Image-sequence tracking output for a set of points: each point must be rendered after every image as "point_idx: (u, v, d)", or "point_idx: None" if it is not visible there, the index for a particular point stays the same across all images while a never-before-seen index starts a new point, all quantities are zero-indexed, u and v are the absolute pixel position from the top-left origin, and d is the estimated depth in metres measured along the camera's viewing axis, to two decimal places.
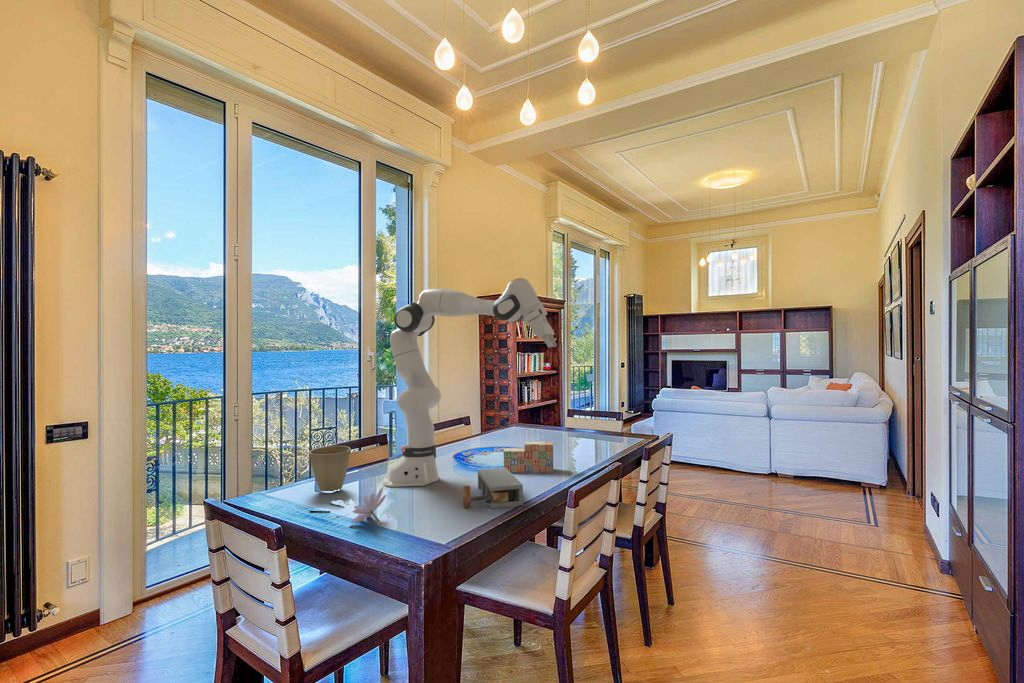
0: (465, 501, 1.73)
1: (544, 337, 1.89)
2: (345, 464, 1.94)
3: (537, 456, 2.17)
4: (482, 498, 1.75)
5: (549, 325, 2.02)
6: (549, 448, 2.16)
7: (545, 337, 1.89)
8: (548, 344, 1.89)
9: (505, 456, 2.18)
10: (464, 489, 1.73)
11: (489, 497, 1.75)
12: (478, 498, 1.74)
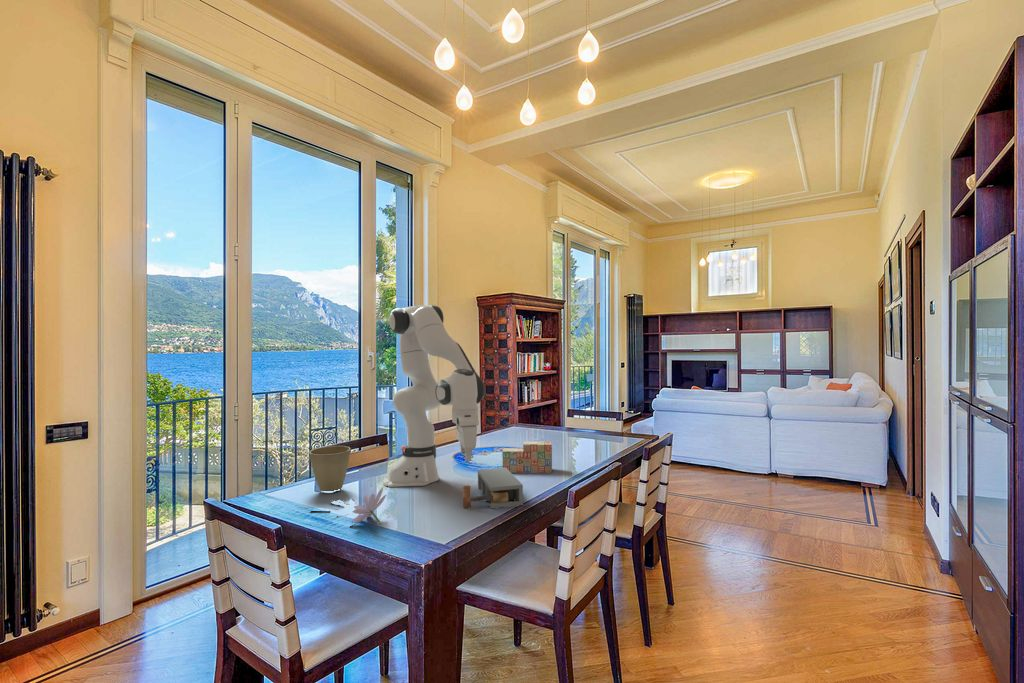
0: (465, 501, 1.73)
1: (468, 449, 1.67)
2: (345, 464, 1.94)
3: (536, 456, 2.17)
4: (482, 498, 1.75)
5: None
6: (547, 448, 2.16)
7: (469, 449, 1.68)
8: (467, 457, 1.68)
9: (504, 456, 2.18)
10: (464, 489, 1.73)
11: (489, 497, 1.75)
12: (478, 498, 1.74)
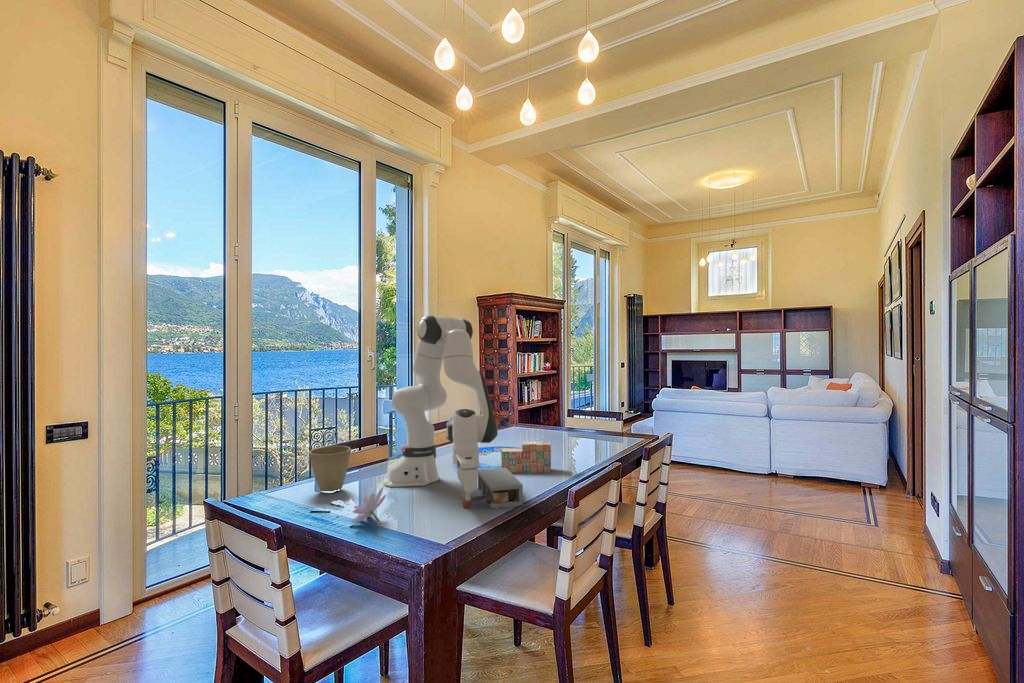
0: (465, 501, 1.73)
1: None
2: (345, 464, 1.94)
3: (535, 456, 2.17)
4: (482, 498, 1.75)
5: None
6: (546, 448, 2.17)
7: None
8: (467, 496, 1.71)
9: (503, 456, 2.18)
10: None
11: (489, 497, 1.75)
12: (478, 498, 1.74)
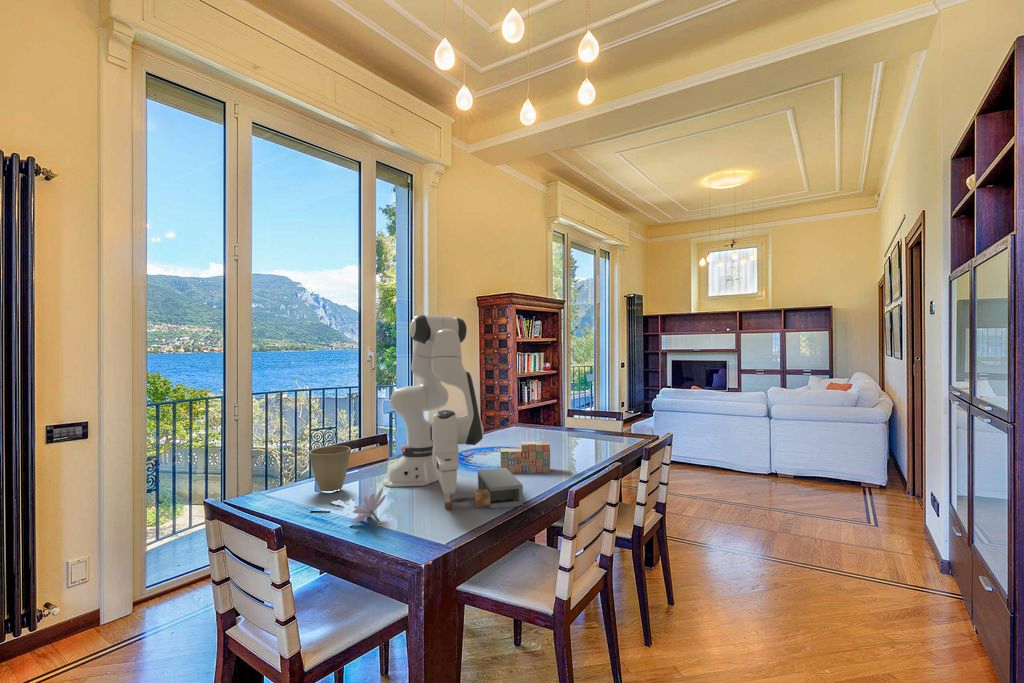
0: (447, 503, 1.71)
1: None
2: (345, 464, 1.94)
3: (534, 456, 2.17)
4: (464, 499, 1.73)
5: None
6: (546, 448, 2.17)
7: None
8: (446, 498, 1.70)
9: (502, 456, 2.18)
10: None
11: (471, 498, 1.74)
12: (460, 499, 1.73)
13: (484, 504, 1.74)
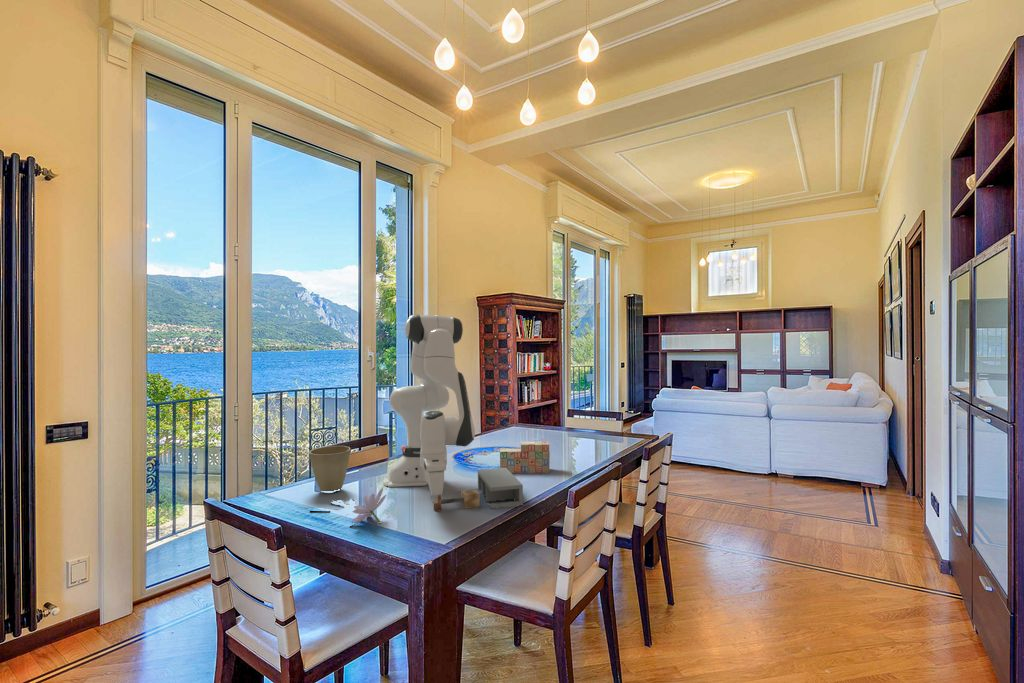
0: (436, 504, 1.70)
1: None
2: (345, 464, 1.94)
3: (534, 456, 2.17)
4: (453, 500, 1.73)
5: None
6: (545, 448, 2.17)
7: None
8: (434, 500, 1.69)
9: (501, 456, 2.18)
10: None
11: (460, 499, 1.74)
12: (449, 500, 1.72)
13: (473, 504, 1.73)
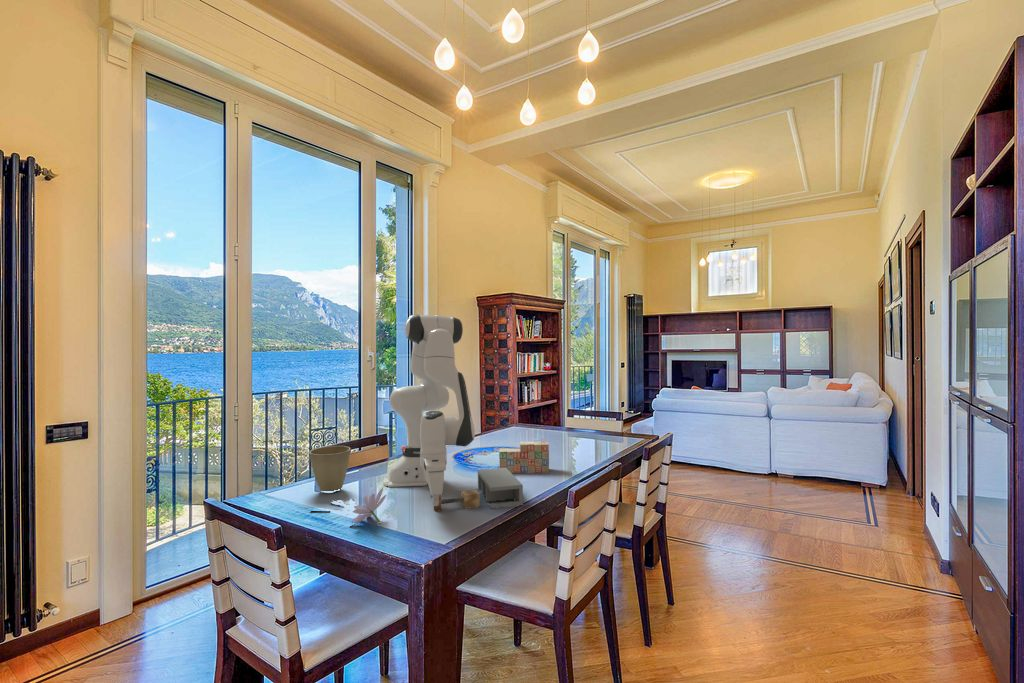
0: None
1: (435, 494, 1.65)
2: (345, 464, 1.94)
3: (533, 456, 2.17)
4: (453, 500, 1.73)
5: None
6: (544, 448, 2.17)
7: (436, 495, 1.65)
8: (435, 502, 1.66)
9: (501, 456, 2.17)
10: None
11: (460, 499, 1.74)
12: (449, 500, 1.72)
13: (473, 504, 1.73)
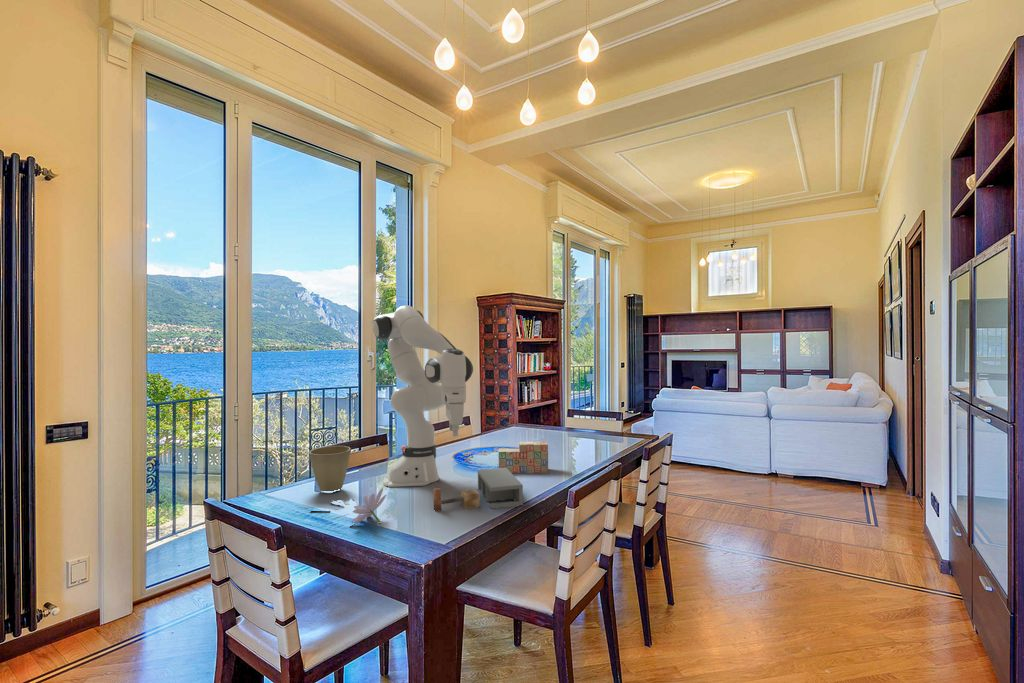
0: (436, 504, 1.70)
1: (455, 425, 1.74)
2: (345, 464, 1.94)
3: (532, 456, 2.17)
4: (453, 500, 1.73)
5: None
6: (544, 448, 2.17)
7: (456, 425, 1.74)
8: (454, 433, 1.75)
9: (500, 456, 2.17)
10: (435, 492, 1.70)
11: (460, 499, 1.74)
12: (449, 500, 1.72)
13: (473, 505, 1.73)
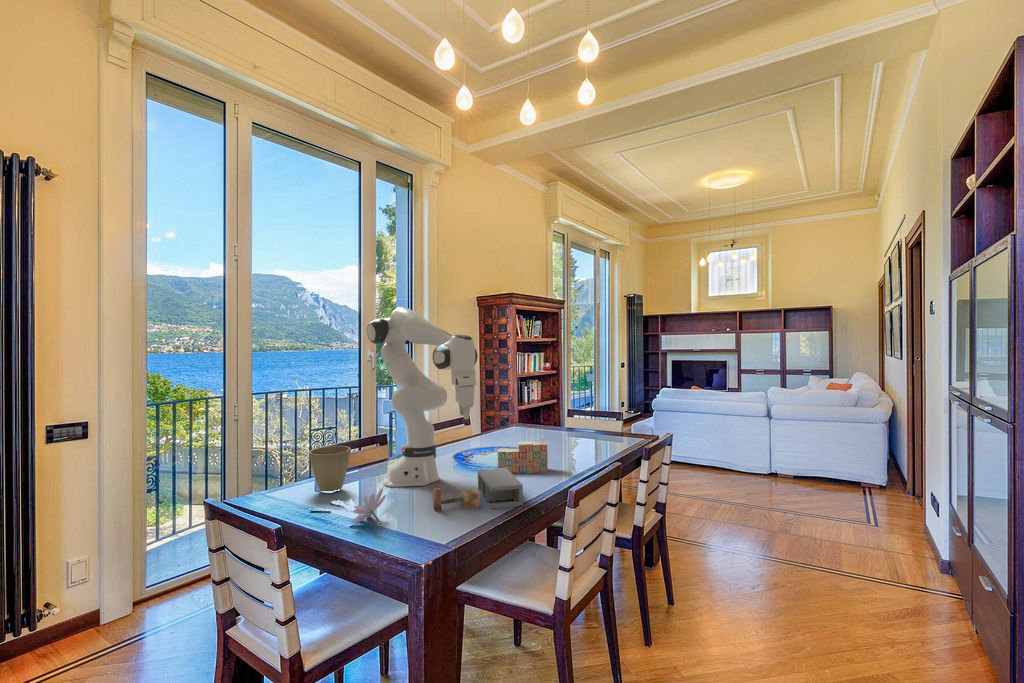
0: (436, 504, 1.70)
1: (466, 408, 1.79)
2: (345, 464, 1.94)
3: (532, 456, 2.17)
4: (453, 500, 1.73)
5: None
6: (543, 448, 2.17)
7: (467, 408, 1.79)
8: (466, 415, 1.80)
9: (499, 457, 2.17)
10: (435, 492, 1.70)
11: (460, 499, 1.74)
12: (449, 500, 1.72)
13: (473, 505, 1.73)
